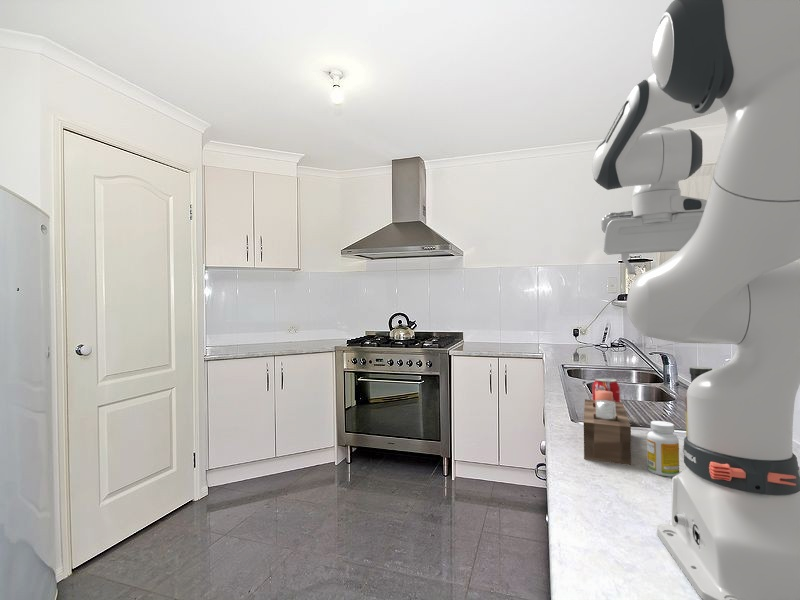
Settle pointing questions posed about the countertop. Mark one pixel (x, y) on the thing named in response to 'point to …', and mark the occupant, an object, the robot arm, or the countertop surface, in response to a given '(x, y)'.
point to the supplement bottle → (663, 449)
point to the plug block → (607, 436)
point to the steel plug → (605, 410)
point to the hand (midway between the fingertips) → (656, 273)
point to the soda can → (607, 387)
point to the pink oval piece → (603, 395)
